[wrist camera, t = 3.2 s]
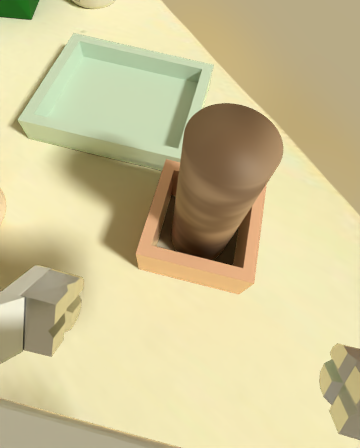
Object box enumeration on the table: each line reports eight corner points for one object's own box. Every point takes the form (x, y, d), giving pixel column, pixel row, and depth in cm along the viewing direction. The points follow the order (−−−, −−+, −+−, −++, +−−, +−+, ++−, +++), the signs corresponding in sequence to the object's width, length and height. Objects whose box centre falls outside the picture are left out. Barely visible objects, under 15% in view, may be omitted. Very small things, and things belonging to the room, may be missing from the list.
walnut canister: (164, 254, 27) (172, 168, 15) (178, 205, 30) (195, 94, 17) (221, 268, 27) (278, 194, 15) (230, 217, 30) (286, 115, 17)
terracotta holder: (138, 269, 27) (135, 253, 23) (164, 184, 31) (165, 159, 27) (238, 294, 26) (254, 283, 22) (251, 206, 30) (266, 183, 26)
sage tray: (28, 138, 32) (17, 119, 29) (79, 54, 38) (73, 33, 36) (184, 176, 31) (186, 160, 29) (209, 84, 38) (213, 64, 35)
